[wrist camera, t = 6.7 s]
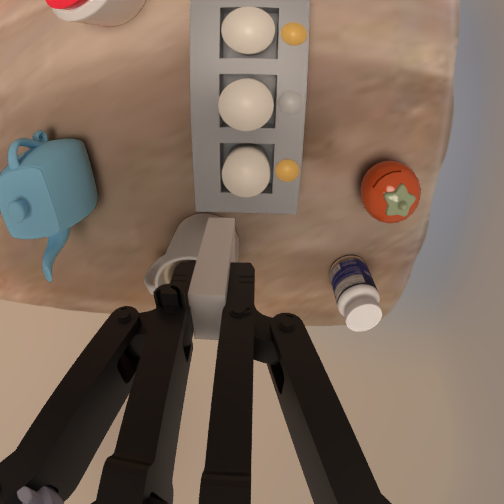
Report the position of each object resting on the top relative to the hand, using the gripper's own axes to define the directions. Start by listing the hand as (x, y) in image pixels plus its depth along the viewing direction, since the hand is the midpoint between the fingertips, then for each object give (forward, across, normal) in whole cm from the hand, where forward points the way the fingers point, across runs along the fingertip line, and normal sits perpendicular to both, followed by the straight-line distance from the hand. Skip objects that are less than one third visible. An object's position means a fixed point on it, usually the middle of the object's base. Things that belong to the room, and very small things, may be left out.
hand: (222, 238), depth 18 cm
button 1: (+17, +1, -1) cm, 17 cm away
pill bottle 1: (+20, -14, +20) cm, 32 cm away
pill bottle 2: (+20, +16, -17) cm, 30 cm away
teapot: (+20, -24, -4) cm, 32 cm away
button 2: (+17, +1, +13) cm, 21 cm away
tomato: (+20, +18, -3) cm, 27 cm away
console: (+20, +1, +6) cm, 21 cm away
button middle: (+15, +1, +6) cm, 16 cm away
